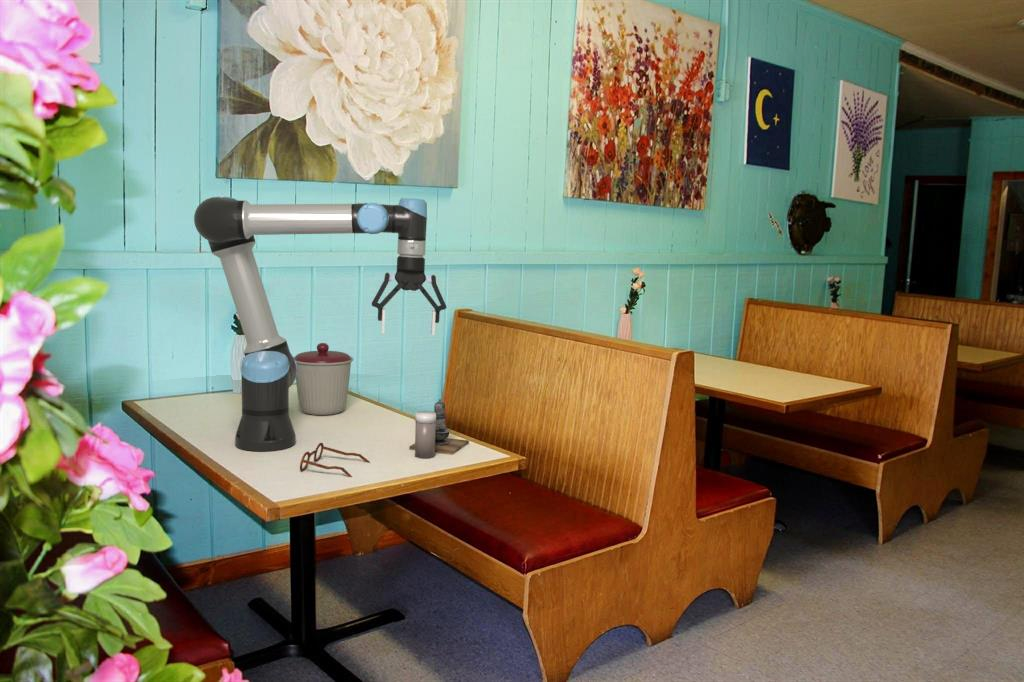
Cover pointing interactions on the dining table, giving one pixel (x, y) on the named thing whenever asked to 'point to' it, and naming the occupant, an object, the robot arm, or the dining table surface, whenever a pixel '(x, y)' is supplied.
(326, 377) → the canister
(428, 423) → the pepper shaker
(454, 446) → the walnut board
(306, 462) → the glasses
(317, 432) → the dining table surface
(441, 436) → the grey tiered figurine
